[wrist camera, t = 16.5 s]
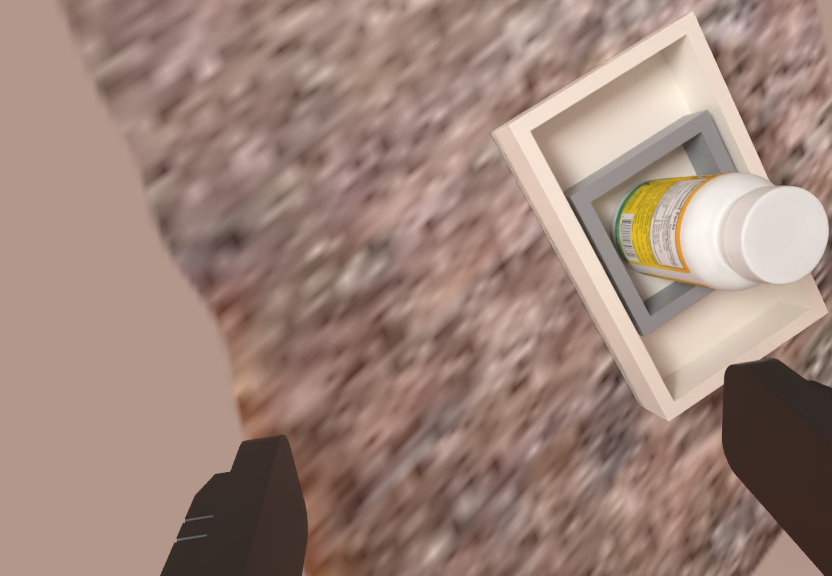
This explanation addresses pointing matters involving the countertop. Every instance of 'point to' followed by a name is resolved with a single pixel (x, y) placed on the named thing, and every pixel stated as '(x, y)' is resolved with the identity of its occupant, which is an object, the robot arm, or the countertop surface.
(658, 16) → the countertop surface
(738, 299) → the walled box
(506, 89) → the countertop surface
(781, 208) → the supplement bottle
